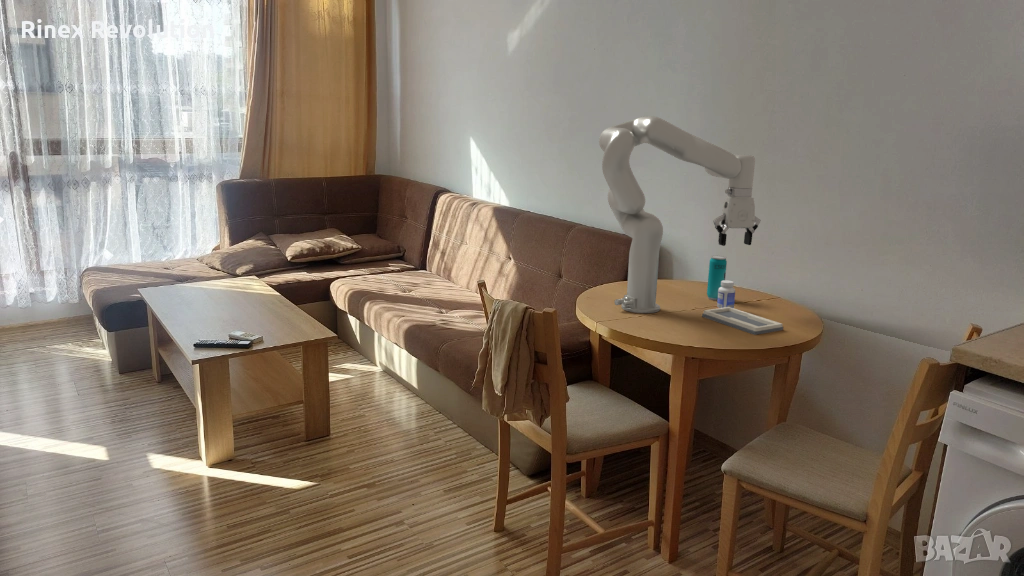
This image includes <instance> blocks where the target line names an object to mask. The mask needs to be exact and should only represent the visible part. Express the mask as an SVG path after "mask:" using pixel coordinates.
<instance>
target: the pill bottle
mask: <svg viewBox="0 0 1024 576" xmlns="http://www.w3.org/2000/svg"><path fill="white" fill-rule="evenodd" d="M734 284H735V282H734V281H732V280H727V279H725V280H723V281H721V286H722V287H720V288H719V289H718V300H716V302H717V304H716V309H717V308H724V307H731V308H734V309H735V302H736V301H735V300H736V299H735V298H736V289H735V287H734V286H735V285H734Z"/></svg>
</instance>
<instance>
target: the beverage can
mask: <svg viewBox="0 0 1024 576" xmlns="http://www.w3.org/2000/svg"><path fill="white" fill-rule="evenodd" d="M727 263H728V261H727V257H726V256H724V255H711V256H710V259H709V265H708V276H707V285H706V286H707V289H706V295H707V298H708V300H711V301H717V300H718V289H719V288H720V287H722V286H721V281H723V280H726V273H727Z"/></svg>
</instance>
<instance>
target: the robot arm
mask: <svg viewBox="0 0 1024 576" xmlns="http://www.w3.org/2000/svg"><path fill="white" fill-rule="evenodd" d="M598 139H599V141H598V145H599V146H600V149H601V150H602V151H603V156H602V163H601V170H602V173H603V174H602V175H603V177H604V179H605V181H606V183H607V186H608V187H609V189H608V193H607V201H608V202H607V203H608V206H609V207H610V209H611V211H612V212H613V216H615V218H616V221H617V223H618V224H619V226H620V227H621V230H622V231H623V232H624V234H626V236H628V237H629V238H631V242H630V243H631V244H630V248H629V254H628V270H627V271H628V272H627V286H626V294H624V295H623V297H622V298H618V299H615V300H614V305H615V306H621V309H622V310H624V311H627V312H631V313H636V314H655V313H658V312H660V310H661V306H660V304H658V303H656V302H657V289H658V287H657V286H658V276H659V275H658V274H659V273H658V272H659V262H660V261H659V258H660V249H661V245H662V240H663V239H662V238H663V235H664V234H663V233H664V227H663V223H662V222H661V220H660V218H658V216H656V215H654V214H653V213H649V212H647V211H645V209H644V208H645V205H646V196H645V194H644V192H643V190H642V188H641V187H640V183H638V181H637V178H636V177H635V175H634V173H633V170H632V168H631V165H630V158H631V154H632V152H633V150H634V148H635V147H637V146H640V145H642V144H649V145H650V146H652V147H654V148H656V149H659V150H661V151H662V152H664V153H666V154H668V155H670V156H672V157H674V158H676V159H678V160H681V161H683V162H687V163H690V164H695V165H696V166H697V165H698V166H700V167H702V168H704V169H705V172H706V173H707V174H709V176H712V177H716V178H721V179H722V178H723V179H726V180H728V188H727V189H725V190H724V193H725V194H726V195H727V196H725V199H724V202H723V207H722V212H721V215H720V216H718V217H716V218H714V219H713V220H712V221H713V222H712V223H713V226H714V228H715V229H716V231H717V233H718V241H717V242H718V245H719V246H723V247H725V246H727V231H728V230H730V229H745V232H744V237H743V244H744V245H746V246H747V245H748V246H751V245H752V242H753V241H752V240H753V234H754V233H755V231H756V230H757V228H759V224H760V223H761V219H760V217H757V216H755V215H756V213H755V211H756V210H755V209H756V208H755V207H756V206H755V198H754V197H753V196H752V195H753V187H754V186H753V185H754V176H755V166H756V159H755V156H754V155H753V154H752V155H751V154H734V153H731V152H729V151H727V150H725V149H724V148H721V147H720V146H718V145H716V144H714V143H713V144H712V143H711V142H709V141H706V140H704V139H703V138H700V137H699V136H696V135H693V134H691V133H690V132H688V131H686V130H684V129H682V128H681V127H678V126H676V125H674V124H673V123H670V122H669V121H667V120H665V119H663V118H661V117H658V116H654V115H653V116H648V115H646V116H645V115H644V116H640V117H637V118H634V119H631V120H628V121H626V122H622V123H619V124H615V125H613V126H609V127H607V128H605V129H604V130H603V131H602V132H601V133H600V135H599V138H598ZM720 222H721V223H720ZM720 224H721V225H720Z"/></svg>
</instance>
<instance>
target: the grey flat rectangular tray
mask: <svg viewBox="0 0 1024 576" xmlns="http://www.w3.org/2000/svg"><path fill="white" fill-rule="evenodd" d="M701 317H702V318H705V319H708V320H711V321H714V322H716V323H719V324H722V325H725V326H728V327H729V328H730V327H731V328H734V329H736V330H738V331H742V332H745V333H749V334H751V335H754V336H756V335H761V334H769V333H773V332H780V331H784V326H783V323H781V322H778V321H776V320H775V321H774V320H772V319H768V318H765V317H762V316H760V315H755V314H753V313H750V312H746V311H743V310H740V309H737V308H735V307H734V308H731V307H724V308H717V307H716V308H712V309H711V308H710V309H705V310H703V313H701Z"/></svg>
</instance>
